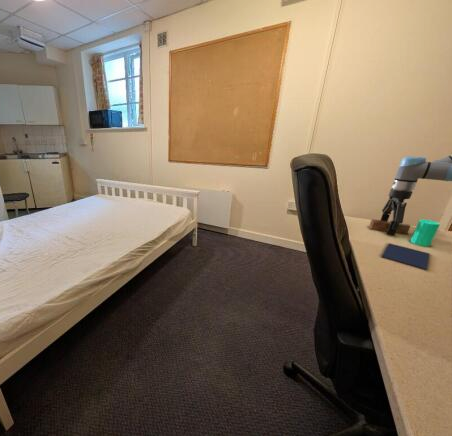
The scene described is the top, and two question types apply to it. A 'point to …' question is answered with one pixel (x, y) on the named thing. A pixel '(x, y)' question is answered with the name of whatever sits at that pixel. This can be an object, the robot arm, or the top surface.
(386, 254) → the placemat
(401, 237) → the top surface
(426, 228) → the candle
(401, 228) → the brown rectangular bar
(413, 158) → the robot arm
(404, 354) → the top surface
